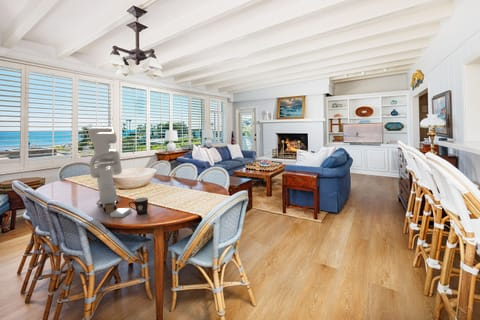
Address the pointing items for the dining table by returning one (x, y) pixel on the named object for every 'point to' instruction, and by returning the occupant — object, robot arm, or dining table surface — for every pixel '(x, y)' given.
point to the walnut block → (109, 208)
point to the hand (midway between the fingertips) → (110, 211)
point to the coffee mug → (141, 205)
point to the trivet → (120, 212)
